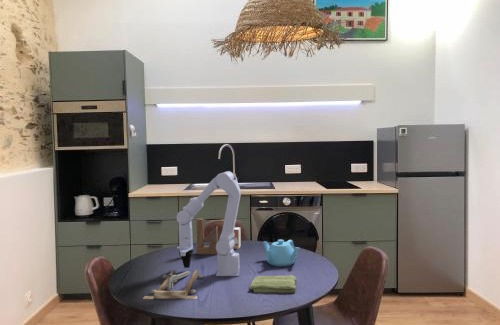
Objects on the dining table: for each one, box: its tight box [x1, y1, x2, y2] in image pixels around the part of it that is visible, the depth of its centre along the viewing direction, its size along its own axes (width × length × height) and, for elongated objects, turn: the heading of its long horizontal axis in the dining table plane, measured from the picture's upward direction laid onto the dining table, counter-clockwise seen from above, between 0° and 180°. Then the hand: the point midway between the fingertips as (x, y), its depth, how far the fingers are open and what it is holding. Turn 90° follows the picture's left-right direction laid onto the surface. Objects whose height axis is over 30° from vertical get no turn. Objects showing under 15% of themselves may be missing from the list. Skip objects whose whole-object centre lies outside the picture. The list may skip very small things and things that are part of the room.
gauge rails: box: [142, 269, 204, 300], centre depth 152 cm, size 20×27×2 cm
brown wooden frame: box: [195, 217, 219, 256], centre depth 194 cm, size 4×11×18 cm, turn 84°
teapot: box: [262, 239, 300, 268], centre depth 177 cm, size 15×15×11 cm
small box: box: [233, 226, 242, 250], centre depth 204 cm, size 8×6×10 cm
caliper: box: [166, 270, 192, 291], centre depth 156 cm, size 20×1×6 cm, turn 166°
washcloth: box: [249, 274, 297, 294], centre depth 148 cm, size 13×18×3 cm
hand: (186, 267), depth 168 cm, fingers closed
